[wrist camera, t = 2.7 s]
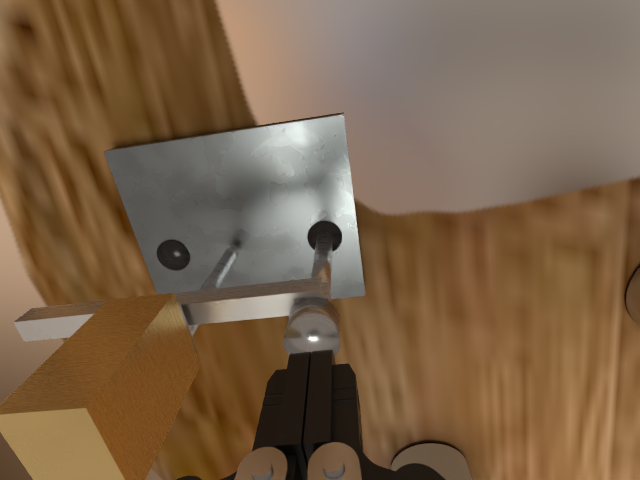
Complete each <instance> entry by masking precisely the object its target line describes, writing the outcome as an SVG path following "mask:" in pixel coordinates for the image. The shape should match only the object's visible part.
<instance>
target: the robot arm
mask: <svg viewBox="0 0 640 480" xmlns="http://www.w3.org/2000/svg"><path fill="white" fill-rule="evenodd" d="M626 305H627V310H628V312H629V314H630V316H631V317H632V319H633V320H634V321H635V322H636V323H637V324H638V325H640V268H639V269H638V270H637V271H636V273H635V274H634V276H633V278H632V279H631V281H630V284H629V287H628V290H627V294H626ZM262 406H263V408H262V410H261V414H260V419H259V423H258V427H257V432H256V436H255V441H254V445H253V449H252V452H251V453H250V454H248V455H247V456H246V457H245V458H244V459H243V461H242V462H241V464H240V466H239V468H238V470H237V471H236V472H235V473H234V474H232V475H230V476H228V477H226V478H223V479H221V480H446V479H445V478H443V477H442V476H441V475H440V474H439V473H438V472H437V471H435V470H434V469H433V468H431V467H429V466H427V465H424V464H419V463H411V464H406V465H404V466H402V467H400V468H399V469H398V470H397V471H393V470H390V469H386V468H383V467H380V466H378V465H376V464H374V463H373V462H371V461H370V460H369V459H368V458H367V457H366V456H365V454H364V453H363V440H362V426H361V413H360V403H359V396H358V389H357V382H356V375H355V373H354V371H353V370H352V368H351V367H350V365H349V364H338V365H336V364H335V358H334V353H333V350H321V351H312V353H311V352H300V353H291V354H290V355H289V360H288V366H287V369H282V370H276V371H275V372H274V374H273V375H272V377H271V378H270V379H269V381H268V383H267V387H266V392H265V397H264V401H263V405H262ZM177 480H201V479H200V478H198V477H196V476H185V477H182V478H179V479H177Z"/></svg>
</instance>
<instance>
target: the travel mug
mask: <svg viewBox="0 0 640 480" xmlns="http://www.w3.org/2000/svg"><path fill="white" fill-rule="evenodd" d="M411 463H419V464H424V465H427V466H429V467H431V468H433V469H434V470H435V471H437V472H438V473H439V474H440V475H441V476H442V477H443V478H445V479H446V480H472V477H471V474H470V470H469V467H468V464H467V461H466V459H465V458H464V456H463V455H462V454H461V453H460V452H459V451H457V450H456V449H454V448H452V447H449V446H446V445H443V444H435V443H427V444H420V445H416V446H412V447H410V448H408V449H406V450H404V451H402V452H401V453H400V454H399V455H398V456H397V457H396V458H395V459H394V461H393V463H392V466H391V470H393V471H397V470H398V469H399V468H400V467H402V466H404V465H406V464H411Z"/></svg>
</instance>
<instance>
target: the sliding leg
mask: <svg viewBox="0 0 640 480" xmlns="http://www.w3.org/2000/svg"><path fill="white" fill-rule="evenodd" d="M237 257H238V251H237V250H236V249H235V248H233V247H230V248H228V249H226V250H225V252H224V254H223V255H222V257H221V258H220V260H219V261H218V263H217V264H216V266H215V267H214V269H213V270H212V272H211V273H210V275H209V276H208V278H207V279H206V281H205V282H204V284H203V285H202V287H201V289H200V290H207V289H216V288H220V287H221V285H222V283H223V282H224V280H225V278H226V276H227V275H228V273H229V271H230V269H231V268H232V266H233V264H234V262H235V261H236V258H237ZM198 326H199V324H198V325H188V324H187V321H186V318H185V315H184V312H183V309H182V307H181V304H180V301H177V299H176V296H175V293H167V294H157V295H148V296H139V297H130V298H121V299H111V300H108V301H107V302H106V303H105V304H104V305H103V306H102V307H101V308H100V309H99V310H98V311H97V312H96V313H95V314H94V315H92V316H91V317H90V318H89V319H88V320H87V321H86V322H85V323H84V324H83V325H82V326H81V327H80V328H79V329H78V330H77V331H76V332H75V333H74V334H73V335H72V336H71V337H70V338H69V339H68V340H67V341H66V342H64V343H63V344H62V346H60V347H59V348H58V349H57V350H56V351H55V352H54V353H53V354H52V355H51V356H50V357H49V358H48V359H47V360H46V361H45V362H44V363H43V364H42V365H41V366H40V367H39V368H38V369H37V370H36V371H34V372H33V374H31V375H30V376H29V377H28V378H27V379H26V380H25V381H24V382H23V383H22V384H21V385H20V386H19V387H18V388H17V389H16V390H15V391H14V392H13V393H12V394H11V395H10V396H9V397H8V398H6V400H4V401H3V402H2V403H1V404H0V432H1V433H2V435H3V436H4V438H5V439H6V441H7V442H8V443H9V445H10V447H11V448H12V449H13V451H14V452H15V454H16V455H17V457H18V458H19V459H20V461H21V462H22V464H23V465H24V467H25V468H26V470H27V471H28V473H29V474H30V475H31V477H32V478H33V479H34V480H145V479H146V477H147V475H148V473H149V471H150V469H151V467H152V465H153V462H154V460H155V458H156V456H157V454H158V452H159V450H160V448H161V446H162V444H163V442H164V440H165V438H166V436H167V433H168V431H169V429H170V427H171V425H172V423H173V421H174V419H175V417H176V415H177V413H178V411H179V409H180V407H181V404H182V402H183V400H184V398H185V396H186V394H187V392H188V390H189V388H190V386H191V384H192V382H193V380H194V378H195V375H196V373H197V371H198V369H199V367H200V363H199V361H198V358H197V355H196V354H197V349H196V346H195V343H194V341H193V338H192V336H193V335H194V333H195V331H196V329H197V328H198Z"/></svg>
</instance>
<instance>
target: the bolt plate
mask: <svg viewBox="0 0 640 480" xmlns="http://www.w3.org/2000/svg"><path fill="white" fill-rule="evenodd" d="M104 154H105V157H106V159H107V162H108V165H109V167H110V170H111V173H112V175H113V178H114V180H115V183H116V186H117V188H118V191H119V194H120V196H121V199H122V202H123V204H124V207H125V210H126V212H127V215H128V218H129V220H130V223H131V226H132V228H133V231H134V233H135V236H136V239H137V241H138V244H139V247H140V249H141V252H142V255H143V257H144V260H145V263H146V265H147V268H148V271H149V273H150V276H151V278H152V281H153V284H154V286H155V289H156V292H157V294H167V293H175V296H176V299H177V301H180V304H181V307H182V309H183V312H184V315H185V318H186V321H187V324H188V325H198V324H208V323H218V322H228V321H238V320H248V319H259V318H269V317H279V316H289V318H288V323H287V327H286V332H285V337H284V346H285V349H286V351H287V353H288V354H289V355H290V354H291V353H300V352H311V353H312V351H321V350H333V353H334V357H335V356H336V354H337V353H338V351H339V347H340V315H339V312H338V310H337V308H336V307H335V306H334V305H333V304H332V302H331V299H338V298H348V297H358V296H365V288H364V280H363V271H362V263H361V254H360V246H359V238H358V229H357V221H356V212H355V204H354V196H353V187H352V179H351V170H350V162H349V154H348V145H347V137H346V129H345V120H344V113H337V114H330V115H325V116H318V117H311V118H305V119H298V120H292V121H286V122H279V123H272V124H266V125H259V126H253V127H246V128H240V129H233V130H227V131H220V132H214V133H207V134H201V135H194V136H188V137H181V138H175V139H168V140H162V141H155V142H149V143H142V144H136V145H129V146H123V147H116V148H113V149H110V150H106V151H104ZM230 247H233V248H235V249H236V250H237V251H238V257H237V258H236V261H235V262H234V264H233V266H232V268H231V269H230V271H229V273H228V275H227V276H226V278H225V280H224V282H223V283H222V285H221V287H220V288H216V289H207V290H200V289H201V287H202V285H203V284H204V282H205V281H206V279H207V278H208V276H209V275H210V273H211V272H212V270H213V269H214V267H215V266H216V264H217V263H218V261H219V260H220V258H221V257H222V255H223V254H224V252H225V250H226V249H228V248H230ZM107 301H108V300H105V301H96V302H87V303H78V304H69V305H59V306H50V307H41V308H32V309H30V310H29V311H27V312H26V313H25V314H23V315H22V316H21V317H19V318H18V319H17V320H15V321H14V322H13V323H14V325H15V326H16V328H17V330H18V332H19V333H20V335H21V337H22V339H23V340H24V342H25V341H35V340H45V339H55V338H65V337H71V336H72V335H73V334H74V333H75V332H76V331H77V330H78V329H79V328H80V327H81V326H82V325H83V324H84V323H85V322H86V321H87V320H88V319H89V318H90V317H91V316H92V315H94V314H95V313H96V312H97V311H98V310H99V309H100V308H101V307H102V306H103V305H104V304H105V303H106V302H107Z"/></svg>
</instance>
